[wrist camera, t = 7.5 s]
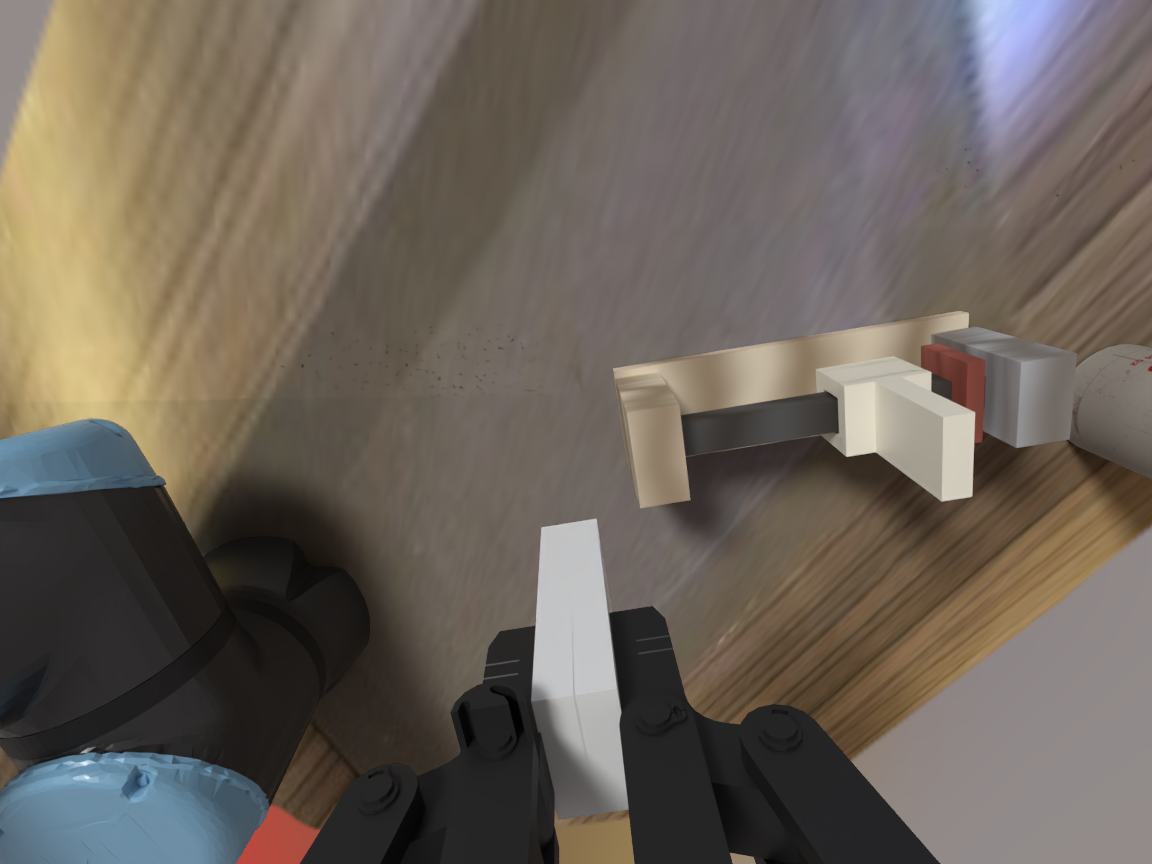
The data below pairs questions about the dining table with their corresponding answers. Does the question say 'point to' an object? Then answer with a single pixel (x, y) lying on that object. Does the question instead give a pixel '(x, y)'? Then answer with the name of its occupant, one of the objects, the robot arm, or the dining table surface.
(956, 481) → the cream t-shaped block
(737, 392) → the rail
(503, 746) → the robot arm
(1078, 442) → the thermos bottle
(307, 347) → the dining table surface
